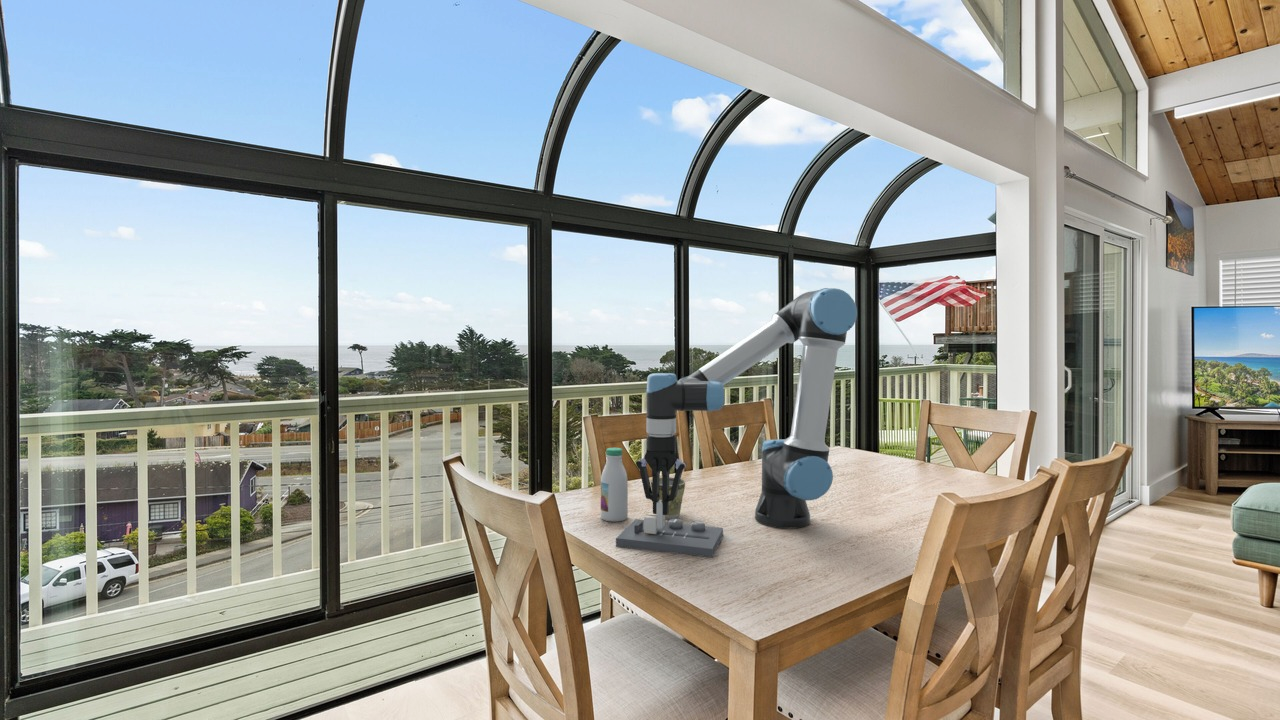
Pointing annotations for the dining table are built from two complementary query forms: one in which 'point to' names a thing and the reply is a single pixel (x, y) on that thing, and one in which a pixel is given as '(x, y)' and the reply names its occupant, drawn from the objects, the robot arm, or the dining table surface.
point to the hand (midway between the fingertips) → (660, 526)
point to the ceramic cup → (676, 503)
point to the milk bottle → (614, 487)
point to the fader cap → (650, 524)
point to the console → (673, 538)
